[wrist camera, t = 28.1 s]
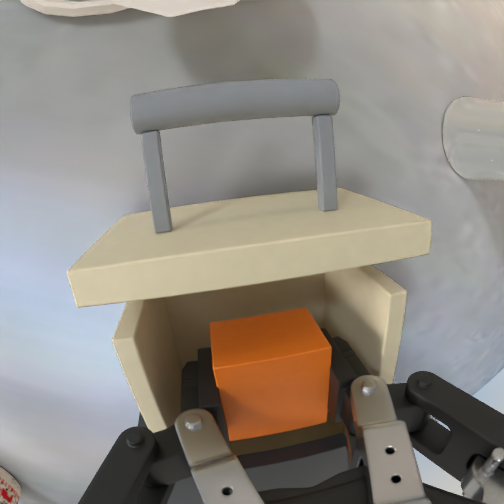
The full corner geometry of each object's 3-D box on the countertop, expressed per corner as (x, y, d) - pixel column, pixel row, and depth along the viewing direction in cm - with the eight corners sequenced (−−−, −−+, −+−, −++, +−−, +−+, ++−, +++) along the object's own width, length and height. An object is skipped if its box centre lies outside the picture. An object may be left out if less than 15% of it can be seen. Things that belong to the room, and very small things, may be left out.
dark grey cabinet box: (150, 350, 19) (131, 476, 10) (343, 319, 20) (420, 418, 11) (196, 472, 24) (204, 561, 15) (331, 447, 25) (368, 528, 16)
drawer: (110, 119, 14) (36, 100, 6) (333, 97, 15) (426, 71, 8) (176, 410, 20) (175, 506, 12) (336, 382, 21) (382, 463, 14)
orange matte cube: (209, 322, 13) (212, 368, 10) (306, 306, 13) (332, 346, 10) (223, 393, 14) (229, 441, 11) (307, 378, 14) (327, 422, 12)
